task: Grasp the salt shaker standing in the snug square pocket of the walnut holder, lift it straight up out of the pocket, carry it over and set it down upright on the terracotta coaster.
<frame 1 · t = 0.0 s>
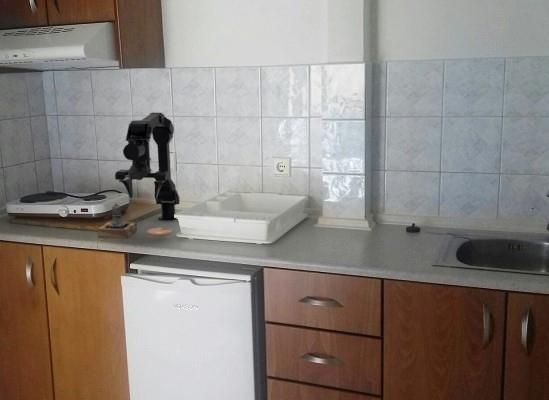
hand: (143, 198, 224), 15 cm above the countertop, tool pointing down, fingers open, 9 cm apart
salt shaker: (117, 234, 232), resting in walnut holder
walnut holder: (117, 233, 232), on the countertop
coaster: (159, 232, 234), on the countertop
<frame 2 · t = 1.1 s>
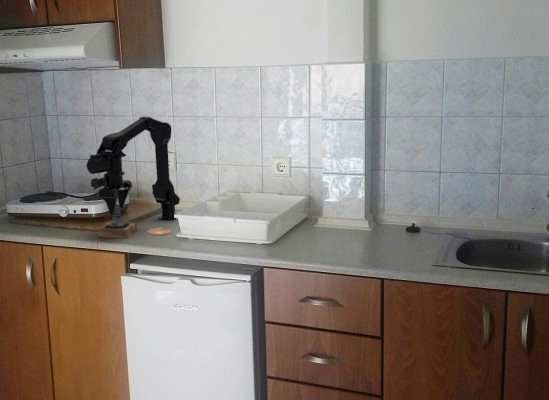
hand: (116, 211, 230), 9 cm above the countertop, tool pointing down, fingers open, 9 cm apart
nothing on the countertop moved.
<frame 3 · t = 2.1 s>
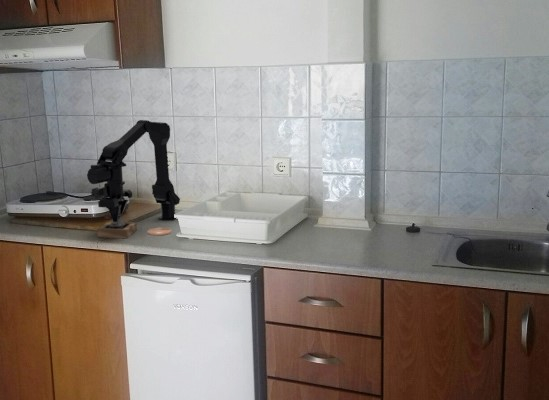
hand: (117, 220, 230), 5 cm above the countertop, tool pointing down, fingers closed on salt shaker, 3 cm apart
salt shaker: (117, 234, 232), resting in walnut holder, touching gripper
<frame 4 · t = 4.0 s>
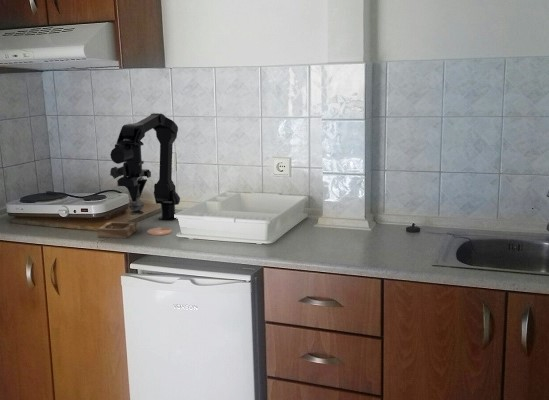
hand: (136, 200, 230), 13 cm above the countertop, tool pointing down, fingers closed on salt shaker, 3 cm apart
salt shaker: (136, 213, 231), point 7 cm above the countertop, touching gripper
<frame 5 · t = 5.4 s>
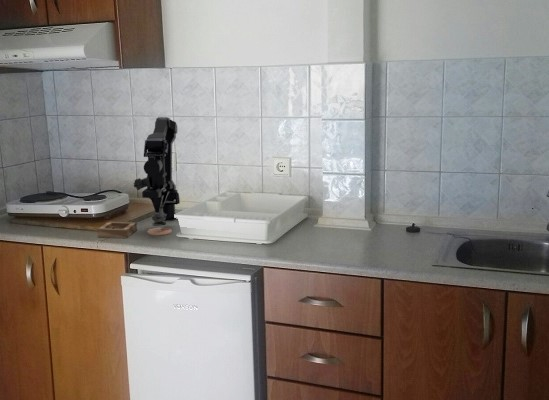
hand: (158, 211, 232), 8 cm above the countertop, tool pointing down, fingers closed on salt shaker, 3 cm apart
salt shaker: (159, 224, 233), point 3 cm above the countertop, touching gripper
when the fingers open (6 cm above the countertop, at t = 6.1 s): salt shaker stays where it is, resting on coaster.
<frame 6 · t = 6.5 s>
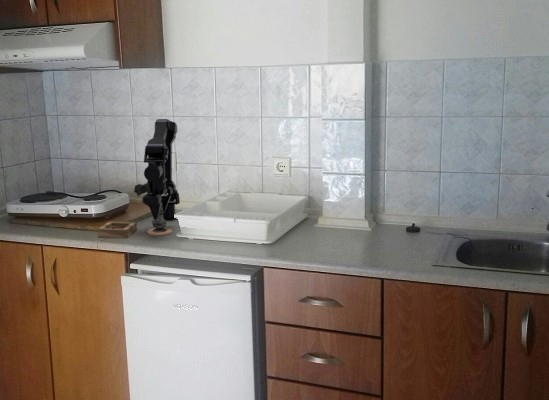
hand: (158, 216, 232), 6 cm above the countertop, tool pointing down, fingers open, 8 cm apart
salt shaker: (159, 231, 234), resting on coaster
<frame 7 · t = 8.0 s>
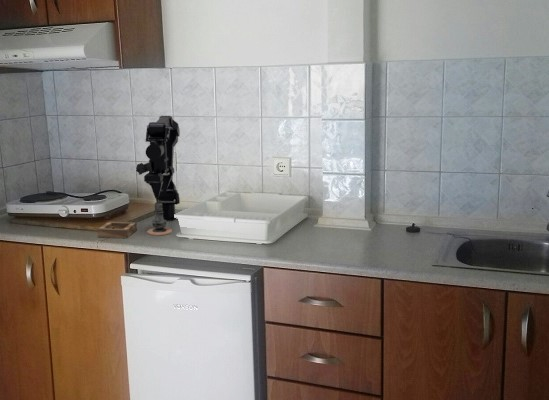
hand: (160, 195, 236), 13 cm above the countertop, tool pointing down, fingers open, 9 cm apart
nothing on the countertop moved.
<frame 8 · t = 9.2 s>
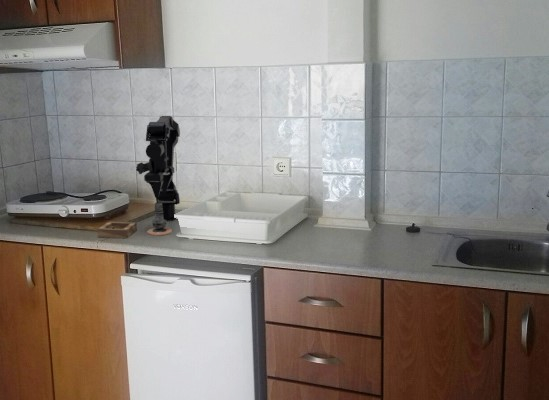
hand: (160, 195, 237), 13 cm above the countertop, tool pointing down, fingers open, 9 cm apart
nothing on the countertop moved.
at the end: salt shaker 0.1 cm from the coaster (horizontally); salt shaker tilted 0°; the gripper is holding nothing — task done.
